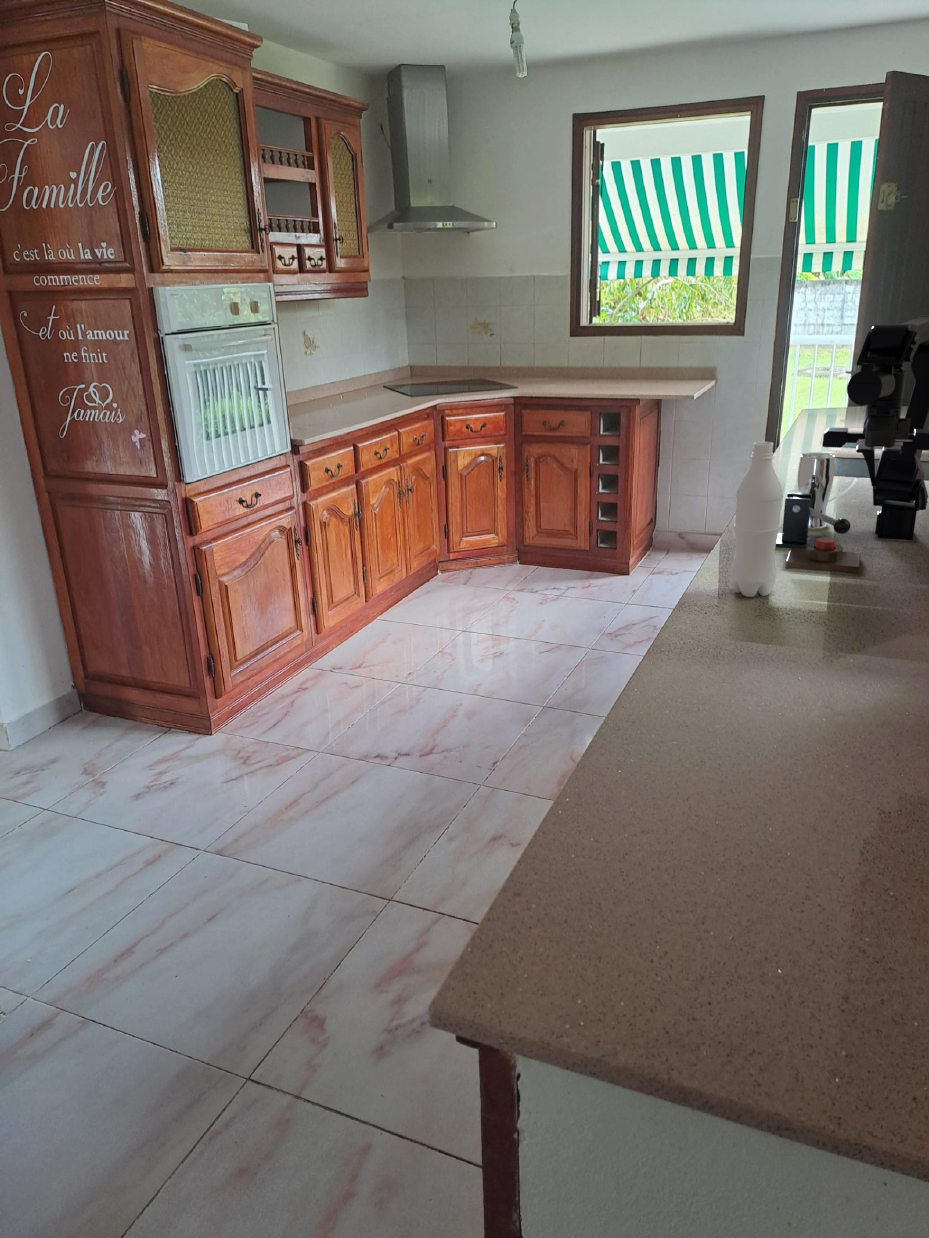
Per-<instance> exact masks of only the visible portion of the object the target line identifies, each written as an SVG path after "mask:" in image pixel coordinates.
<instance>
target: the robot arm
mask: <svg viewBox="0 0 929 1238" xmlns="http://www.w3.org/2000/svg"><path fill="white" fill-rule="evenodd" d="M870 329H871V330H869V331H868V332H867V333H866V337H865V340H864V342H863V344H862V348H861V350H860V352H859V356H858V358H857V361H856V366H857V367H860V371H858V372H856V373H854V375H852V376H851V377H850V379H849V381H848V383H847V385H846V393H847V396H848V398H849V400H850V401H851V402H852V403H853V404H856V405H858V406H866V407H865V415H864V421H863V425H862V426H863V428H862V432H849V427H831V426H830V427H827V428H826V429H825V430H824V433H823V438H822V447H823V448H836V449H837V448H838V449H840V448H841V449H842V448H843V447H844V446H845V445H846V444H855V445H856V449H855V452H856V453H857V454H862V456H863V458H864V460H865V463H866V466H867V471H868V475H869V480H870V484H871V487H872V506H874V507H881V508H880V510H878V511H877V514H876V522H875V529H874V533H875V535H876V537H877V539H885V540H886V539H887V540H902V541H903V540H904V541H914V540H915V527H916V519H917V515H918V514H917V512H919V511H925V510H927V505H928V501H929V500H928V499H929V493H928V490H927V486H926V483H925V480H924V479H925V475H926V474H925V471H924V468H923V465H922V463H921V461H920V460H921V457H922V454H923V451H929V314H920V315H919V316H915V318H913V319H910V320H907V321H905V322H903V323H876V324H874V325H873V326H872V327H871V328H870ZM909 363H910V369H911V372H912V375H913V377H914V380H915V381H914V384H913V388H912V391H911V395H910V399H909V403H908V405H907V409H906V412H905V416H904V417H901V416H902V407H903V400H904V391H905V384H906V378H907V377H906V376H907V370H908V369H909V365H908V364H909ZM876 447H877V448H878V447H879V448H880V447H882V449H881V454H880V456H879V457H880V458H879V461H878V465H877V469H876V459H875V458H876V452H875V451H876V450H875V448H876Z"/></svg>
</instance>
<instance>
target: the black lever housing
mask: <svg viewBox="0 0 929 1238" xmlns="http://www.w3.org/2000/svg"><path fill="white" fill-rule="evenodd" d="M794 496H797V497H799V498H793V497H794ZM811 497H812V494H804V493H798V492H788V493H787V494H786V497H785V498H784V508H783V518H782V519H783V521H782V531H781V532H778V536H777V540H776V546H775V548H780V549H782V548H783V549H791V548H800V549H806V547H807V545H809V544H812V543H816V539H817V538H827V535H819V534H818V535H816V534H809V529H810V528H809V517H810V514H809V507H811Z"/></svg>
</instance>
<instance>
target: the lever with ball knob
mask: <svg viewBox="0 0 929 1238" xmlns="http://www.w3.org/2000/svg"><path fill="white" fill-rule="evenodd" d="M793 498H799V497H797V496H794V497H793ZM809 514H810V515H812V516H814V517H816V518H818V519H820V520H822V521H824V522H826V524H829V525H831V526H832V528H833V530H834V532H835V533H837V534H839V535H844V534H847V533H848V532H849V531H850V529H851V523H850V521H849V519H847V518H845V517H841V518H838V519H836V518H833V517H831V516H829V515H827V514H826V515H825V514H823V513H821V512H819V511H816V510H814V509H812V508H810V507H809Z"/></svg>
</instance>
